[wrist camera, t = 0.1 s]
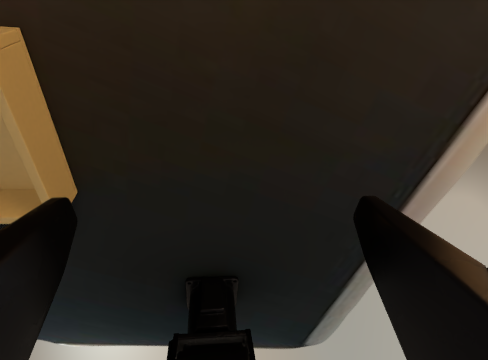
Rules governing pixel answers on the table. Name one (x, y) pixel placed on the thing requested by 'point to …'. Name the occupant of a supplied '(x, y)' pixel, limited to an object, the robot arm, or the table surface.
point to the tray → (26, 136)
